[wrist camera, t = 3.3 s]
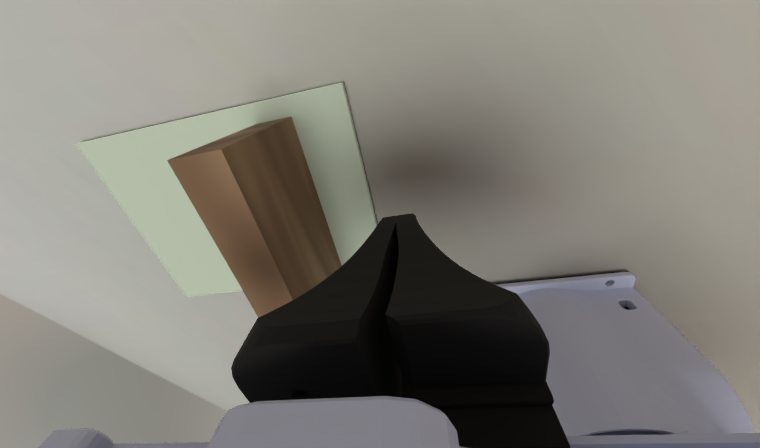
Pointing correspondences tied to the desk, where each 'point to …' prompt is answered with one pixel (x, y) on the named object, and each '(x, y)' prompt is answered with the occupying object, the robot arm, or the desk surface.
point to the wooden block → (261, 211)
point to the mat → (165, 141)
